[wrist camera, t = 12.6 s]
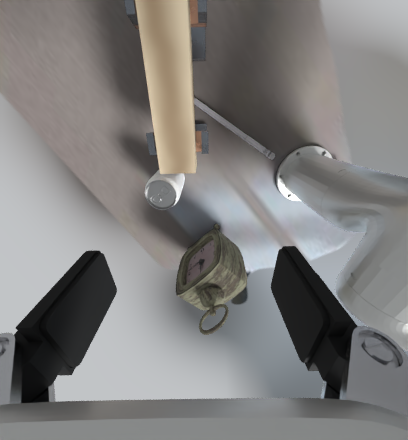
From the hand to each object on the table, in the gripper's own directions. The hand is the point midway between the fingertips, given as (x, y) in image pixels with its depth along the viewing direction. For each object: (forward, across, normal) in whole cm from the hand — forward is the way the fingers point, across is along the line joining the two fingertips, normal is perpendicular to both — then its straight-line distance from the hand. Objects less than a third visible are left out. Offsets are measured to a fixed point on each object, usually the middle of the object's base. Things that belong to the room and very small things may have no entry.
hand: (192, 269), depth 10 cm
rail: (+24, +3, -12) cm, 27 cm away
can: (+34, +7, +4) cm, 35 cm away
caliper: (+35, -7, -6) cm, 36 cm away
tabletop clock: (+34, -2, +23) cm, 42 cm away
